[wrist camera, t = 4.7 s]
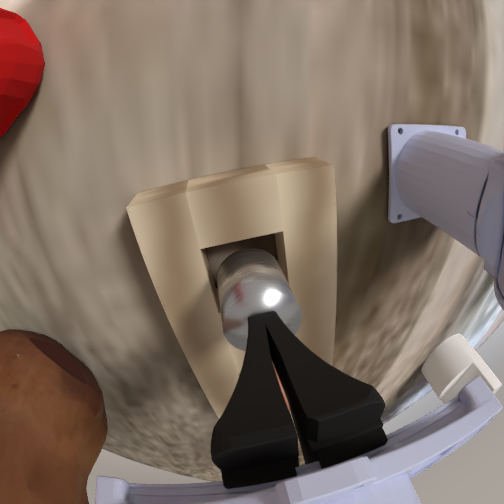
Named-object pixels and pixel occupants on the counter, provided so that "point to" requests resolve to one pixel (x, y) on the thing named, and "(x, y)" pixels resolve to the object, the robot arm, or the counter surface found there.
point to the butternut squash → (46, 421)
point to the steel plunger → (253, 293)
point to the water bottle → (17, 66)
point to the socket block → (235, 229)
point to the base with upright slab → (456, 368)
